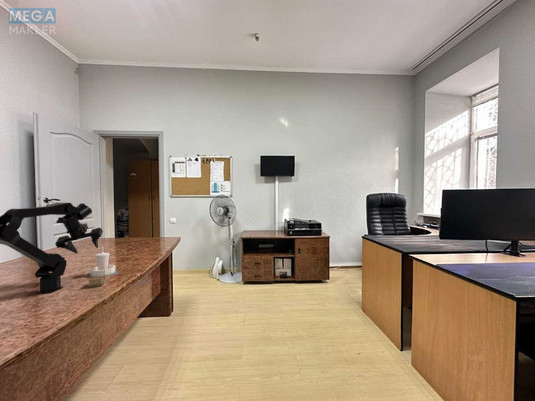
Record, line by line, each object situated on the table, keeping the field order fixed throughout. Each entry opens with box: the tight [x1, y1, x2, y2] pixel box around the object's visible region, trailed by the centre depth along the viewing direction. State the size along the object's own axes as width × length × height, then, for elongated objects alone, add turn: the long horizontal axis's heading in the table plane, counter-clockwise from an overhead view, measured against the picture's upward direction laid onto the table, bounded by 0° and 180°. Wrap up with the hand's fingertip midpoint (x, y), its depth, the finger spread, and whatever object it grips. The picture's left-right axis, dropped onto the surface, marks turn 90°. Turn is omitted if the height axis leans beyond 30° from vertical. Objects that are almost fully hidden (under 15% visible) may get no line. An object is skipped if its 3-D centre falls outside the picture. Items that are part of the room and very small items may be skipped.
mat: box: [87, 268, 119, 279], centre depth 126 cm, size 12×12×1 cm
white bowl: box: [89, 264, 116, 277], centre depth 126 cm, size 11×11×3 cm
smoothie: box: [94, 245, 111, 270], centre depth 125 cm, size 6×6×14 cm
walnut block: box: [88, 275, 107, 288], centre depth 109 cm, size 5×5×4 cm
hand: (87, 250), depth 123 cm, fingers open, 9 cm apart
